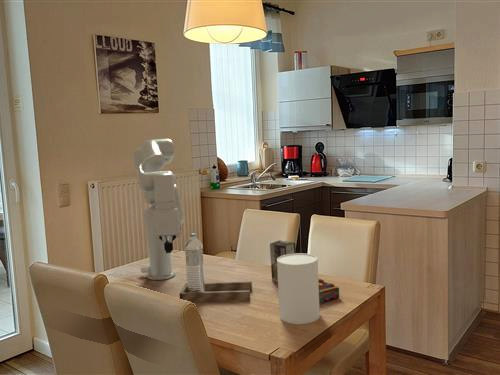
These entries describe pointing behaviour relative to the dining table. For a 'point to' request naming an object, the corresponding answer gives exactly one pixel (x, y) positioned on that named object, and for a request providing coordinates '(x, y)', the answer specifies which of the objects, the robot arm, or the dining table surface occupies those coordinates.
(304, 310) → the canister
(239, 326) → the dining table surface
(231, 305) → the dining table surface
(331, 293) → the decorative book
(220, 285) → the bottle rest
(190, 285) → the water bottle
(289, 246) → the coffee box
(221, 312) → the dining table surface
